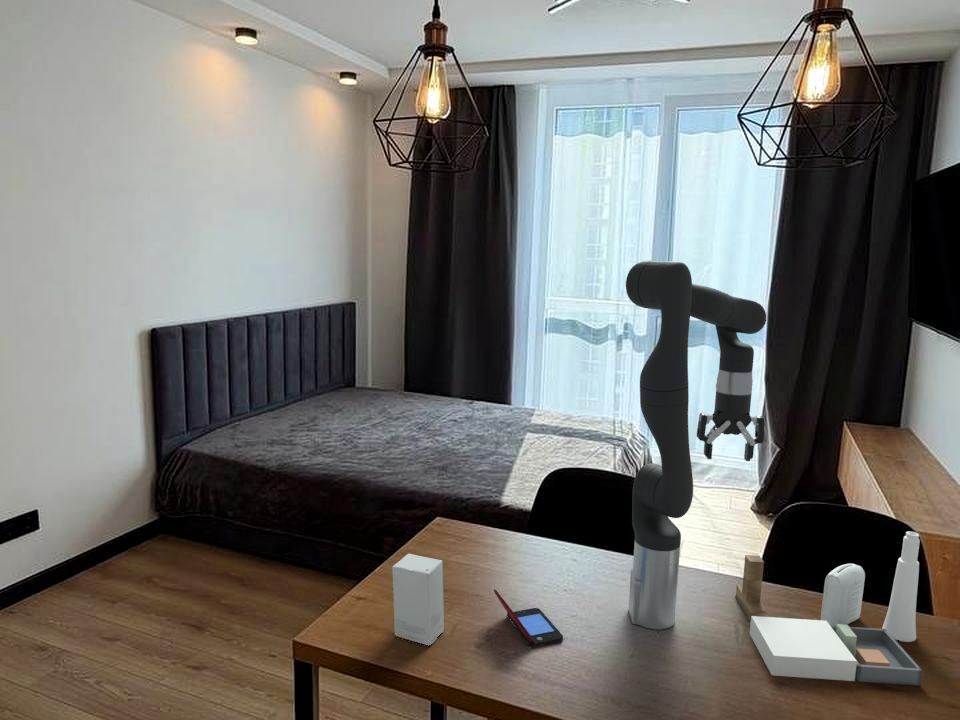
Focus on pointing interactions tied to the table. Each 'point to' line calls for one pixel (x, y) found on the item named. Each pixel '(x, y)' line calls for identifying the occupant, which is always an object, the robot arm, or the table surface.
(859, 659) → the terracotta tile
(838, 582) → the photo printer
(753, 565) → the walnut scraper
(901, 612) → the cosmetic bottle
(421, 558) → the skincare box
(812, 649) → the off-white plate
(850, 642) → the sage-green tile
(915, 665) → the box
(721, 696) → the table surface
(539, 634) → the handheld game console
